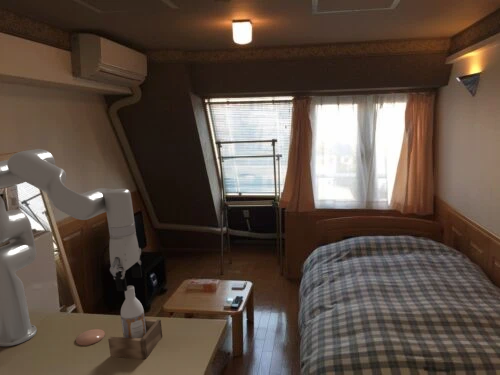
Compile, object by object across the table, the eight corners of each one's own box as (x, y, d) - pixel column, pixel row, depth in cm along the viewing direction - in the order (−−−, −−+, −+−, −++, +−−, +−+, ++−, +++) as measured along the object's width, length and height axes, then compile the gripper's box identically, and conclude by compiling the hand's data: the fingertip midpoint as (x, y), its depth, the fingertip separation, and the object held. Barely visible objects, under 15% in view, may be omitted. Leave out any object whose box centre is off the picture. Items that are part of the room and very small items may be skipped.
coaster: (70, 344, 135) (70, 343, 135) (86, 330, 144) (86, 328, 143) (95, 346, 133) (95, 344, 133) (110, 331, 142) (109, 329, 142)
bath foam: (128, 355, 127) (121, 294, 123) (122, 345, 133) (114, 286, 129) (150, 347, 131) (143, 287, 127) (143, 337, 136) (136, 280, 133)
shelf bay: (110, 356, 127) (108, 338, 126) (130, 334, 139) (127, 318, 138) (145, 359, 124) (143, 340, 123) (162, 336, 136) (160, 319, 135)
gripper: (125, 222, 134) (132, 272, 137) (95, 239, 117) (103, 296, 120) (146, 222, 132) (153, 272, 135) (119, 239, 115) (127, 296, 118)
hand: (130, 283), depth 128 cm, fingers open, 9 cm apart
